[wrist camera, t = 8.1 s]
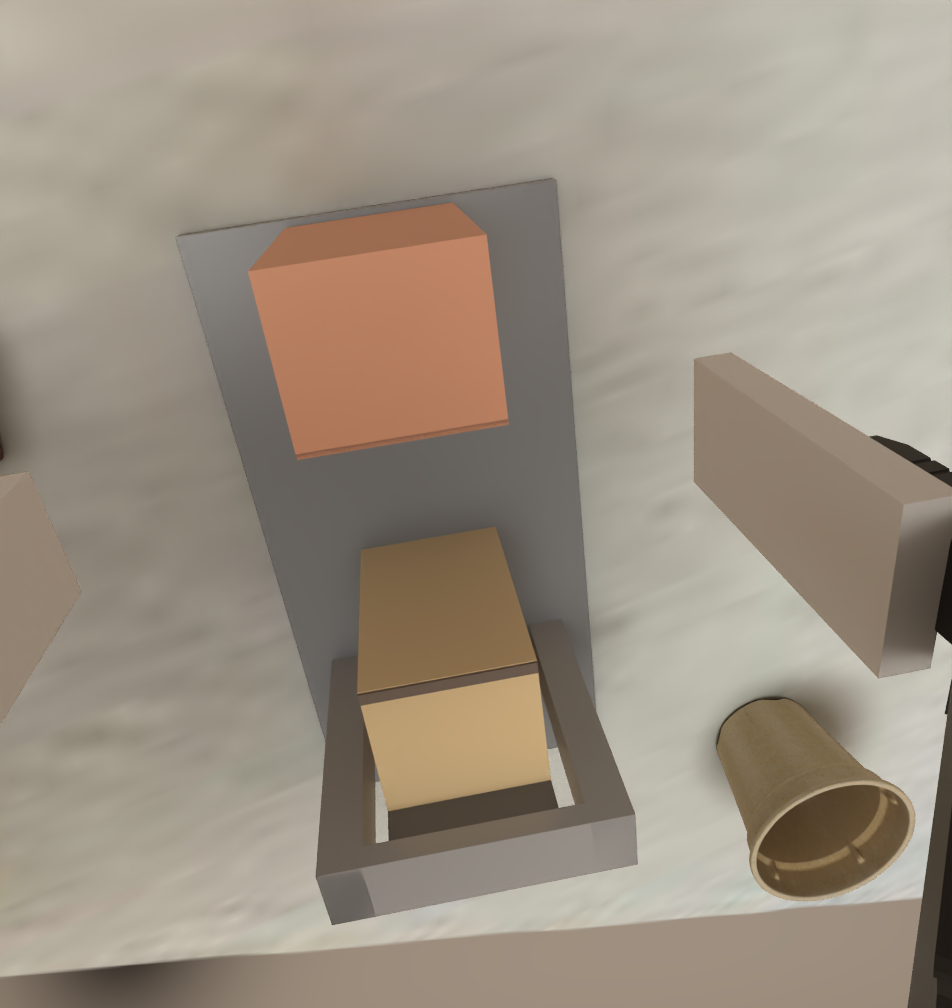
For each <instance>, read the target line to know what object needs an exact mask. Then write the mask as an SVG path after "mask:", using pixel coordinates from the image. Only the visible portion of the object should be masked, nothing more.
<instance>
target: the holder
mask: <svg viewBox="0 0 952 1008" xmlns="http://www.w3.org/2000/svg"><path fill="white" fill-rule="evenodd" d="M452 202H453V203H454V204H455V205H456V206H457V207H458V208H459V209H460V210H461V211H462V212H463V213H464V214H465V215H466V216H468V217H469V218H470V219H471V220H472V221H473V222H474V223H475V224H476V225H477V226H478V227H479V228H480V229H481V230H482V231H483V232H484V233H486V234H487V242H488V251H489V259H490V268H491V276H492V285H493V293H494V302H495V310H496V319H497V327H498V336H499V344H500V353H501V361H502V370H503V378H504V387H505V396H506V404H507V413H508V421H509V425H504V426H498V427H492V428H486V429H480V430H474V431H468V432H462V433H456V434H450V435H444V436H438V437H432V438H426V439H420V440H415V441H409V442H403V443H397V444H391V445H385V446H379V447H373V448H367V449H361V450H355V451H349V452H343V453H337V454H331V455H325V456H319V457H313V458H307V459H301V460H297V458H296V454H295V451H294V447H293V443H292V439H291V435H290V431H289V428H288V424H287V420H286V416H285V412H284V408H283V405H282V401H281V397H280V393H279V389H278V385H277V382H276V378H275V374H274V370H273V366H272V362H271V359H270V355H269V351H268V347H267V343H266V339H265V336H264V332H263V328H262V324H261V320H260V316H259V312H258V309H257V305H256V301H255V297H254V293H253V289H252V286H251V282H250V278H249V274H248V271H249V269H250V268H251V267H252V266H253V265H254V264H255V262H256V261H257V260H258V259H259V258H260V257H261V255H262V254H263V253H264V252H265V251H266V250H267V248H268V247H269V246H270V245H271V244H272V243H273V241H274V240H275V239H276V238H277V237H278V236H279V234H280V233H281V232H282V231H283V230H284V228H288V227H295V226H301V225H308V224H314V223H321V222H328V221H334V220H341V219H347V218H354V217H360V216H367V215H374V214H380V213H387V212H393V211H400V210H406V209H413V208H420V207H426V206H433V205H439V204H446V203H452ZM176 241H177V244H178V247H179V251H180V254H181V258H182V261H183V264H184V268H185V271H186V274H187V278H188V281H189V284H190V288H191V291H192V295H193V298H194V301H195V305H196V308H197V311H198V315H199V318H200V321H201V325H202V328H203V332H204V335H205V338H206V342H207V345H208V348H209V352H210V355H211V358H212V362H213V365H214V369H215V372H216V375H217V379H218V382H219V385H220V389H221V392H222V395H223V399H224V402H225V406H226V409H227V412H228V416H229V419H230V422H231V426H232V429H233V432H234V436H235V439H236V443H237V446H238V449H239V453H240V456H241V459H242V463H243V466H244V469H245V473H246V476H247V480H248V483H249V486H250V490H251V493H252V496H253V500H254V503H255V506H256V510H257V513H258V516H259V520H260V523H261V527H262V530H263V533H264V537H265V540H266V543H267V547H268V550H269V553H270V557H271V560H272V564H273V567H274V570H275V574H276V577H277V580H278V584H279V587H280V590H281V594H282V597H283V601H284V604H285V607H286V611H287V614H288V617H289V621H290V624H291V627H292V631H293V634H294V638H295V641H296V644H297V648H298V651H299V654H300V658H301V661H302V664H303V668H304V671H305V675H306V678H307V681H308V685H309V688H310V691H311V695H312V698H313V701H314V705H315V708H316V712H317V715H318V718H319V722H320V725H321V728H322V732H323V735H324V738H325V742H326V745H325V759H324V772H323V785H322V799H321V812H320V826H319V839H318V852H317V866H316V879H317V882H318V885H319V888H320V891H321V894H322V897H323V900H324V903H325V906H326V909H327V911H328V914H329V917H330V920H331V923H332V925H336V924H341V923H346V922H351V921H356V920H361V919H366V918H371V917H376V916H381V915H386V914H391V913H396V912H401V911H406V910H411V909H416V908H421V907H426V906H431V905H436V904H441V903H446V902H451V901H456V900H461V899H466V898H471V897H476V896H481V895H486V894H491V893H496V892H501V891H506V890H511V889H516V888H521V887H526V886H531V885H536V884H541V883H546V882H552V881H557V880H562V879H567V878H572V877H577V876H582V875H587V874H592V873H597V872H602V871H607V870H612V869H617V868H622V867H627V866H632V865H637V864H638V860H637V839H636V818H635V812H634V810H633V807H632V804H631V802H630V799H629V796H628V794H627V791H626V789H625V786H624V783H623V781H622V778H621V776H620V773H619V770H618V768H617V765H616V763H615V760H614V757H613V755H612V752H611V749H610V747H609V744H608V742H607V739H606V736H605V734H604V731H603V729H602V726H601V723H600V721H599V718H598V715H597V713H596V706H595V693H594V680H593V666H592V653H591V639H590V626H589V613H588V599H587V586H586V573H585V559H584V546H583V533H582V519H581V506H580V492H579V479H578V466H577V452H576V439H575V426H574V412H573V399H572V386H571V372H570V359H569V346H568V332H567V319H566V305H565V292H564V279H563V265H562V252H561V239H560V225H559V212H558V199H557V185H556V179H552V178H551V179H545V180H538V181H531V182H525V183H518V184H512V185H505V186H498V187H492V188H485V189H479V190H472V191H465V192H459V193H452V194H446V195H439V196H432V197H426V198H419V199H413V200H406V201H399V202H393V203H386V204H380V205H373V206H366V207H360V208H353V209H347V210H340V211H333V212H327V213H320V214H314V215H307V216H300V217H294V218H287V219H281V220H274V221H267V222H261V223H254V224H248V225H241V226H234V227H228V228H221V229H215V230H208V231H201V232H195V233H188V234H182V235H179V236H177V237H176ZM556 747H558V749H559V753H560V756H561V759H562V763H563V766H564V769H565V773H566V776H567V779H568V783H569V786H570V789H571V793H572V796H573V799H574V803H575V805H572V806H567V807H562V808H558V804H557V801H556V797H555V793H554V790H553V786H552V782H551V777H550V768H549V760H548V751H547V749H551V748H556ZM377 781H380V782H381V786H382V790H383V794H384V798H385V801H386V805H387V809H388V829H389V841H387V842H382V843H377V844H376V831H375V782H377Z"/></svg>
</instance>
